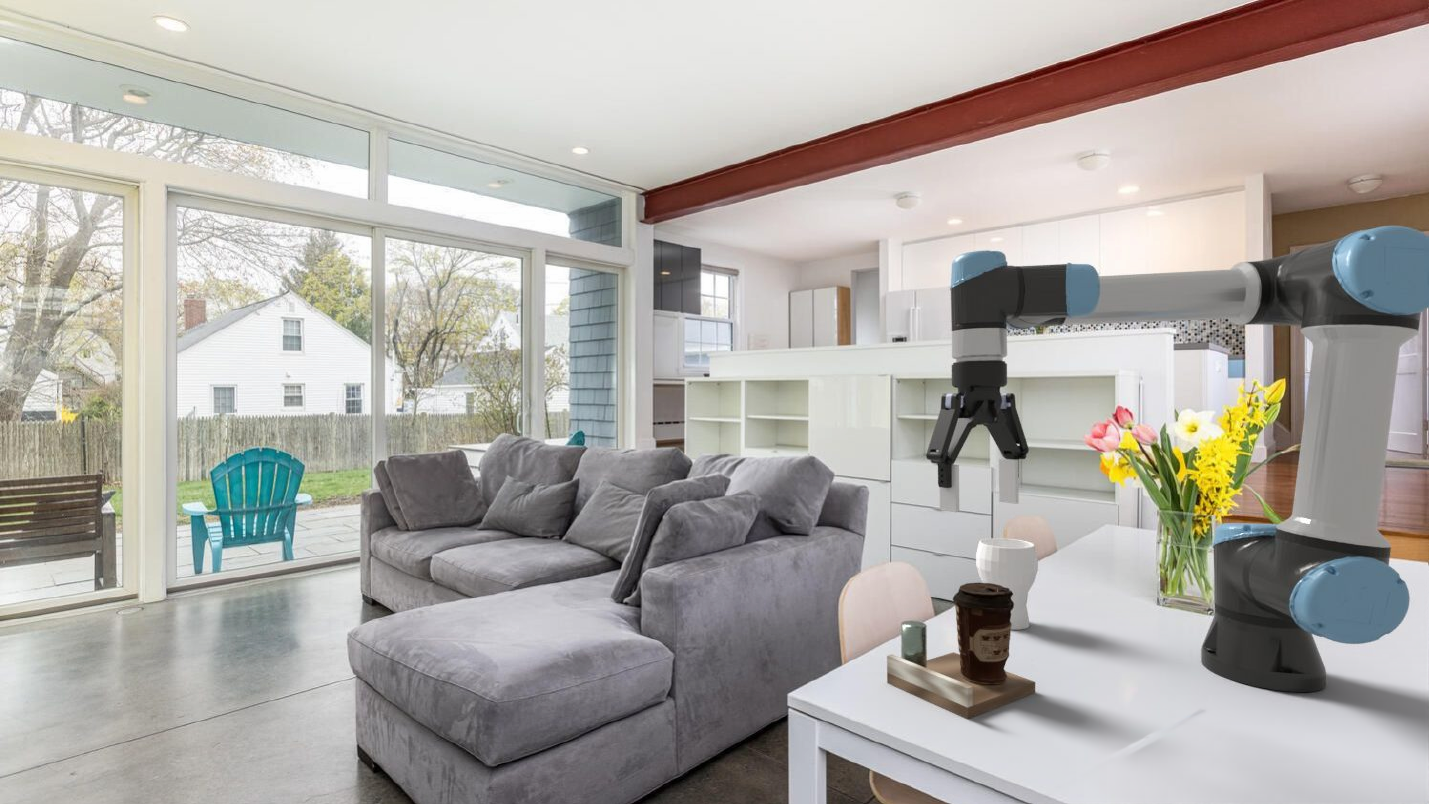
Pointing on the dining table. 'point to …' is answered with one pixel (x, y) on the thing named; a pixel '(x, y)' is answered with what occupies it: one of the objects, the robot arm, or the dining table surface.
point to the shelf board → (954, 685)
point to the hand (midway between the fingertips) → (980, 506)
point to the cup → (1009, 571)
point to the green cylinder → (914, 642)
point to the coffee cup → (983, 631)
